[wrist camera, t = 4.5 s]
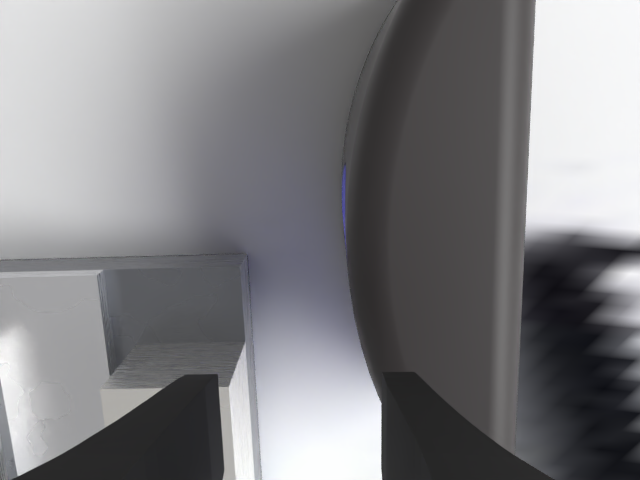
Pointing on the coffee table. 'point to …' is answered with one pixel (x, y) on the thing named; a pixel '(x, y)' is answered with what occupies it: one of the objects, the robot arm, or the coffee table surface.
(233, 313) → the rail plate
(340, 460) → the coffee table surface
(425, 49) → the leaning round-cornered charcoal block
